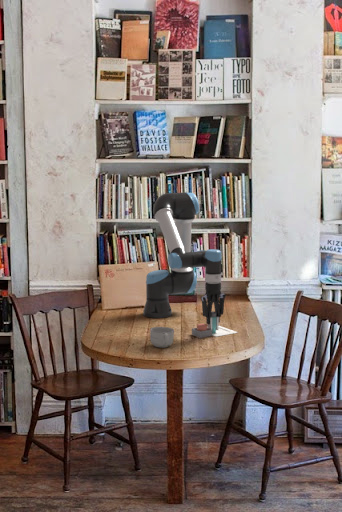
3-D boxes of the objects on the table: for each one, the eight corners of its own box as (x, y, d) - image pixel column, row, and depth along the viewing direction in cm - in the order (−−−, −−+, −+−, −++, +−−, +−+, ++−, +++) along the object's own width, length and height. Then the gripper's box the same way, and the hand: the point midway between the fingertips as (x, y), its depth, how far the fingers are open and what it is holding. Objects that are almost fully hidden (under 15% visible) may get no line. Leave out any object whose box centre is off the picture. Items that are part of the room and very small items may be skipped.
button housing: (191, 334, 354) (191, 328, 354) (203, 332, 358) (203, 326, 357) (200, 337, 348) (200, 331, 348) (212, 335, 352) (212, 329, 351)
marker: (207, 332, 357) (207, 312, 355) (213, 331, 359) (213, 311, 357) (212, 333, 354) (212, 313, 352) (217, 332, 356) (217, 312, 354)
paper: (196, 329, 363) (196, 328, 363) (218, 325, 370) (218, 325, 370) (216, 336, 350) (216, 336, 350) (237, 332, 357) (237, 332, 357)
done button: (194, 331, 353) (194, 324, 353) (203, 330, 356) (203, 323, 356) (200, 333, 349) (200, 326, 349) (209, 332, 352) (209, 325, 351)
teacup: (149, 343, 340) (149, 326, 339) (173, 342, 341) (173, 325, 340) (151, 351, 327) (151, 334, 325) (175, 351, 327) (175, 333, 326)
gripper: (203, 285, 345) (203, 334, 349) (231, 281, 353) (231, 329, 357) (194, 282, 351) (194, 330, 355) (222, 279, 360) (221, 326, 363)
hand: (213, 330), depth 356 cm, fingers closed on marker, 3 cm apart
